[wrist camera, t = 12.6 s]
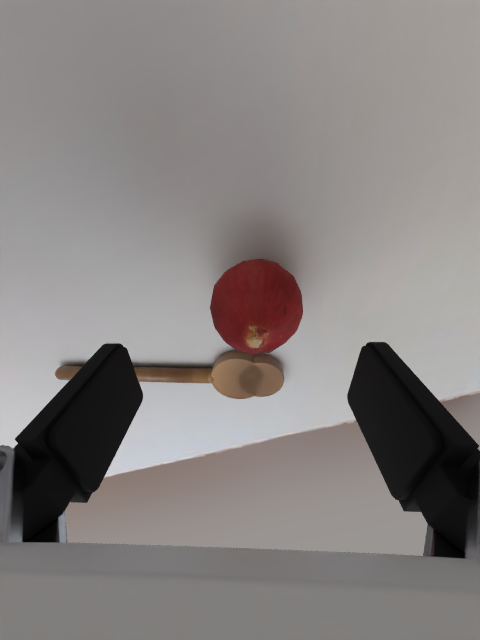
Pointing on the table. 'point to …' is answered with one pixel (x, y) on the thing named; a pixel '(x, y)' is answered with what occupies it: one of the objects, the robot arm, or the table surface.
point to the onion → (256, 306)
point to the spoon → (215, 374)
